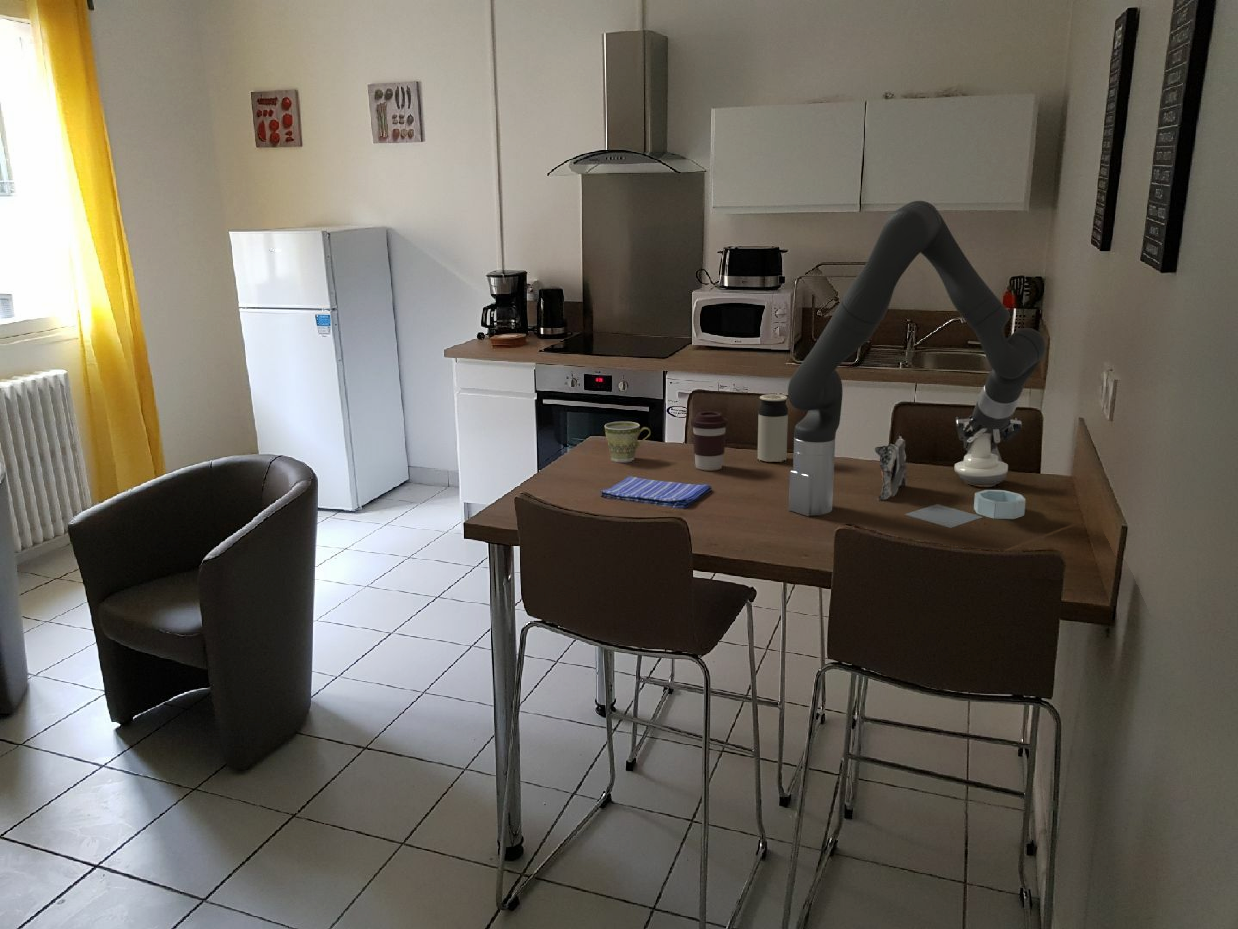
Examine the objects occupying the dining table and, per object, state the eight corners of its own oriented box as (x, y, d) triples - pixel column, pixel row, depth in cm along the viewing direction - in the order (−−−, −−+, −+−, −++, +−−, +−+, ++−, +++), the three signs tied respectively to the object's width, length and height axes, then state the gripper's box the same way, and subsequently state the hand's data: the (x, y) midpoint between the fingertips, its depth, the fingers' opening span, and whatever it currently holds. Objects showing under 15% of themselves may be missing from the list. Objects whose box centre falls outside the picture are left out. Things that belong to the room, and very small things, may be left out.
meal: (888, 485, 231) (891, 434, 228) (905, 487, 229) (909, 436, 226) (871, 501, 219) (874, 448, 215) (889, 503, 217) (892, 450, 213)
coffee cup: (690, 463, 255) (690, 410, 251) (725, 462, 255) (726, 409, 251) (691, 472, 245) (691, 417, 241) (728, 472, 245) (729, 417, 241)
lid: (990, 478, 196) (990, 432, 194) (944, 472, 204) (944, 427, 202) (1017, 468, 202) (1018, 423, 200) (972, 462, 211) (972, 419, 209)
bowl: (1005, 523, 201) (1007, 505, 200) (965, 512, 209) (967, 495, 208) (1031, 514, 207) (1033, 497, 206) (991, 503, 215) (992, 487, 214)
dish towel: (687, 511, 215) (687, 500, 214) (598, 499, 226) (597, 488, 225) (713, 492, 230) (713, 481, 229) (629, 481, 240) (628, 471, 240)
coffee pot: (958, 475, 239) (963, 419, 235) (1006, 479, 234) (1012, 422, 230) (951, 497, 220) (956, 437, 216) (1002, 503, 215) (1008, 441, 211)
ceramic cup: (604, 464, 255) (603, 429, 253) (606, 455, 265) (605, 421, 262) (650, 464, 255) (650, 429, 252) (650, 454, 264) (650, 421, 262)
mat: (950, 529, 198) (950, 527, 198) (904, 515, 208) (904, 514, 207) (982, 518, 205) (983, 516, 205) (936, 505, 214) (937, 504, 214)
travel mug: (764, 464, 252) (765, 400, 247) (753, 457, 259) (754, 395, 255) (791, 462, 254) (793, 398, 249) (779, 455, 261) (781, 393, 257)
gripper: (963, 417, 189) (946, 460, 203) (1035, 418, 187) (1014, 462, 201) (959, 387, 193) (943, 432, 207) (1030, 388, 191) (1009, 433, 205)
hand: (978, 447), depth 204 cm, fingers closed on lid, 4 cm apart
